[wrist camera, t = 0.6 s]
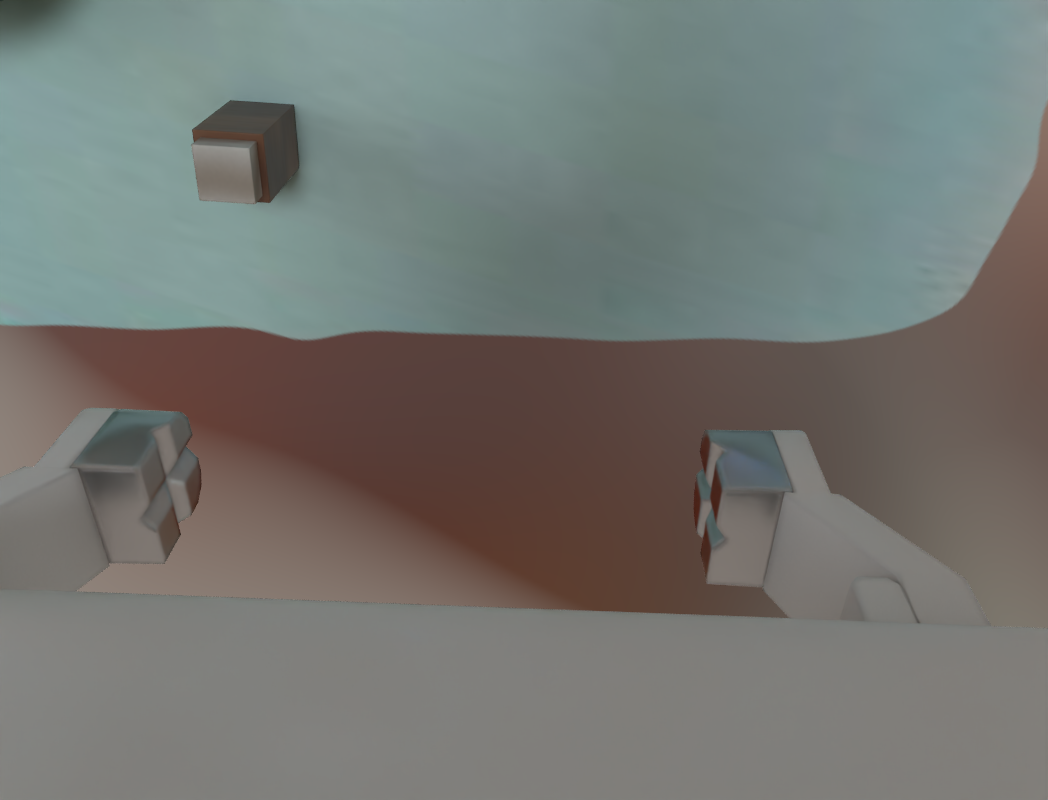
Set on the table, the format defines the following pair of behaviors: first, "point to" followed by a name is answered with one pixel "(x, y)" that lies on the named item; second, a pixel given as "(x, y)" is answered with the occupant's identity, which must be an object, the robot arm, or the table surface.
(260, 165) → the brown and white block
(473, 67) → the table surface
